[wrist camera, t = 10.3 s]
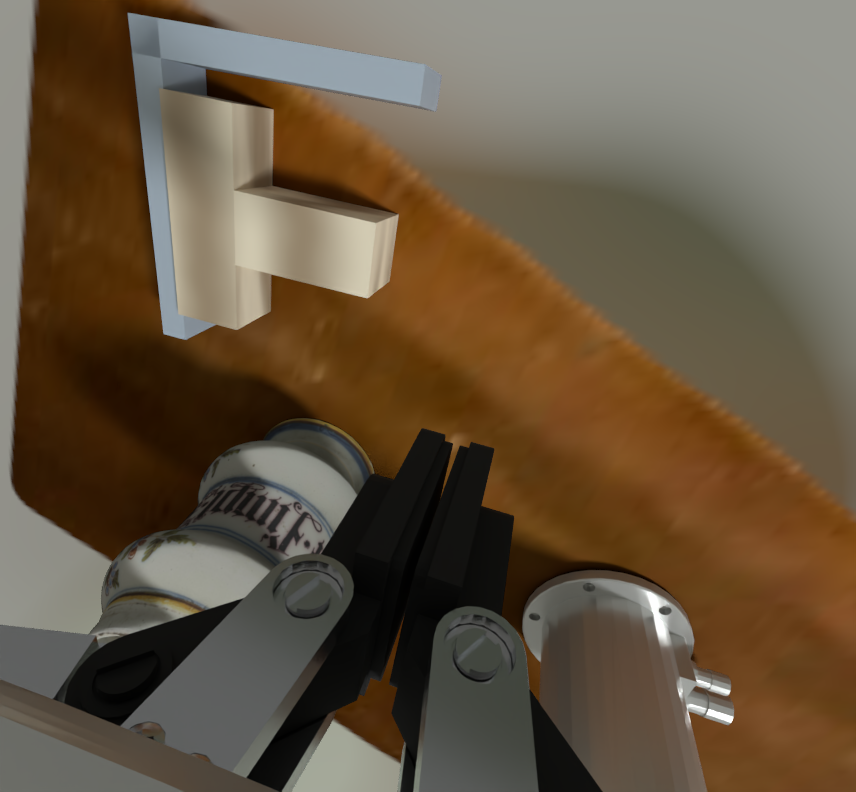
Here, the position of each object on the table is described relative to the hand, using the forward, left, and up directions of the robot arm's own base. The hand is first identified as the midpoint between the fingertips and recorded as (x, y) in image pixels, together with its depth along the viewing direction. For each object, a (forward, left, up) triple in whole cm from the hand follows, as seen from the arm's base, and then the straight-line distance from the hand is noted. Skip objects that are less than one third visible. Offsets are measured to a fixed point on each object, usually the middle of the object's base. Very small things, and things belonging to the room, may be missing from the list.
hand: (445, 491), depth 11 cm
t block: (+13, 0, -20) cm, 24 cm away
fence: (+14, -1, -20) cm, 24 cm away
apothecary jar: (+11, +18, -20) cm, 29 cm away
